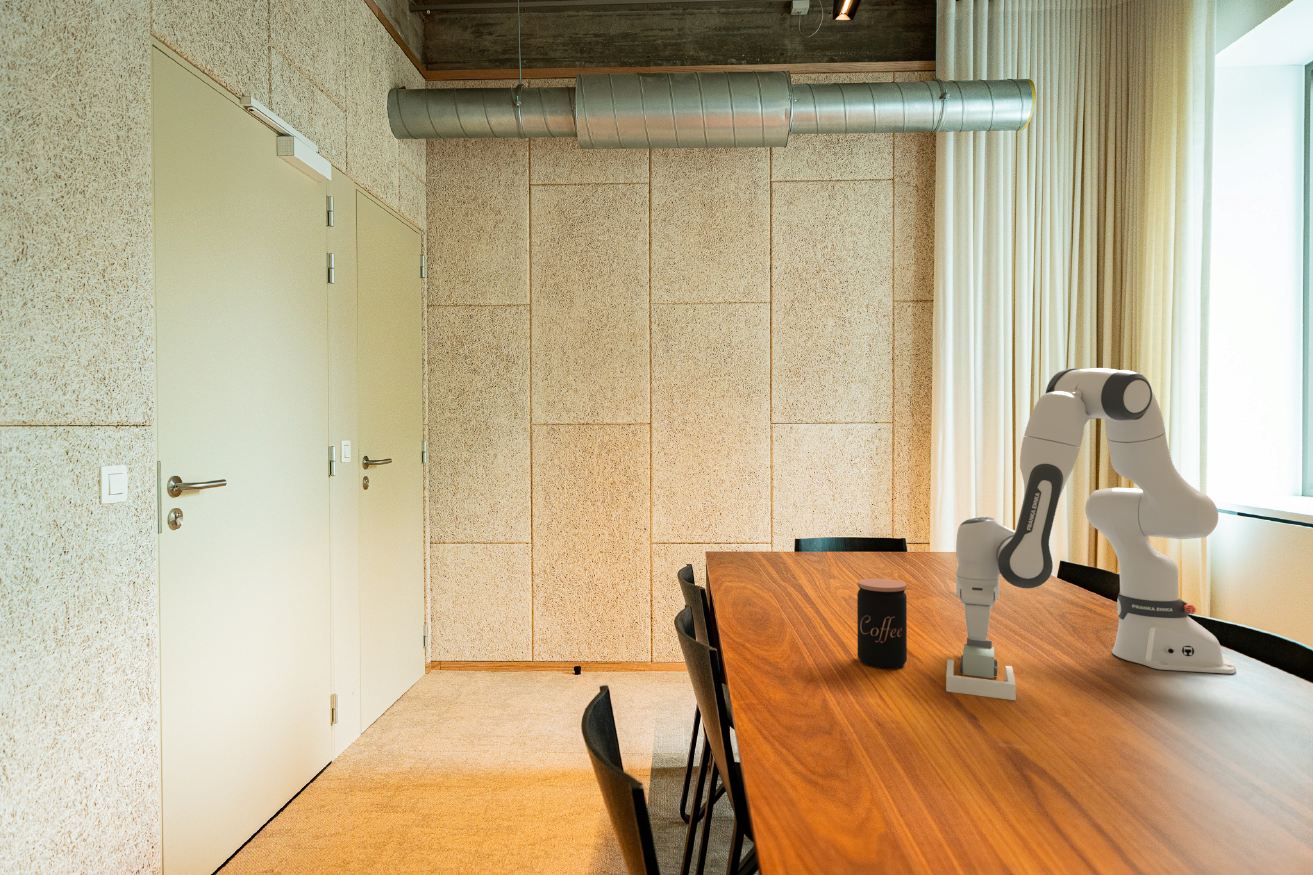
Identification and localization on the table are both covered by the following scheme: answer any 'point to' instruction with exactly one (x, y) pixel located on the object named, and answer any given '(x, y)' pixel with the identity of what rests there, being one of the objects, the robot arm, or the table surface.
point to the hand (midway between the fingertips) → (977, 650)
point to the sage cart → (978, 659)
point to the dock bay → (981, 684)
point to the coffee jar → (882, 623)
